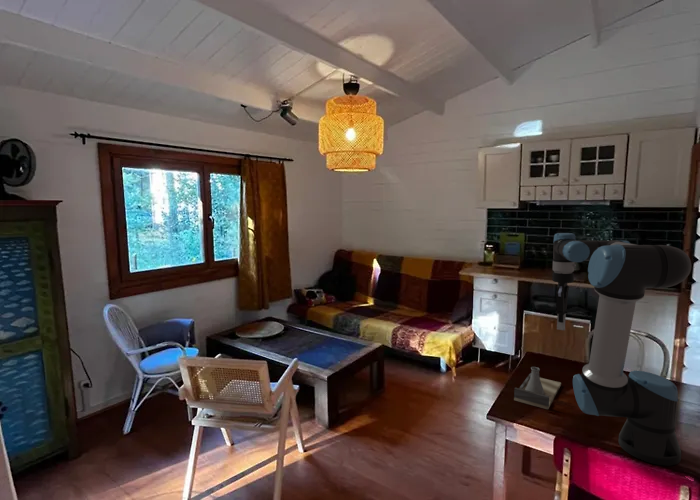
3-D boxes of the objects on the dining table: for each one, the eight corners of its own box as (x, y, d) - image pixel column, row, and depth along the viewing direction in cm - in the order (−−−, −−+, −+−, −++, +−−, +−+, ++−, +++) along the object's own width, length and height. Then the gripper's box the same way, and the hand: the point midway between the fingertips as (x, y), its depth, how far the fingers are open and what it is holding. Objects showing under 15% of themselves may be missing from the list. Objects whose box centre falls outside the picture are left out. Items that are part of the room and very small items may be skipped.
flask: (543, 389, 157) (544, 365, 155) (546, 398, 150) (546, 373, 149) (523, 387, 159) (524, 363, 158) (525, 395, 152) (526, 371, 151)
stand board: (548, 409, 144) (548, 397, 143) (514, 400, 151) (514, 388, 151) (560, 385, 163) (561, 374, 162) (530, 378, 170) (530, 367, 170)
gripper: (571, 275, 149) (568, 335, 151) (576, 270, 159) (574, 326, 161) (549, 273, 153) (547, 332, 156) (556, 268, 163) (554, 323, 166)
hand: (560, 329), depth 159 cm, fingers closed
